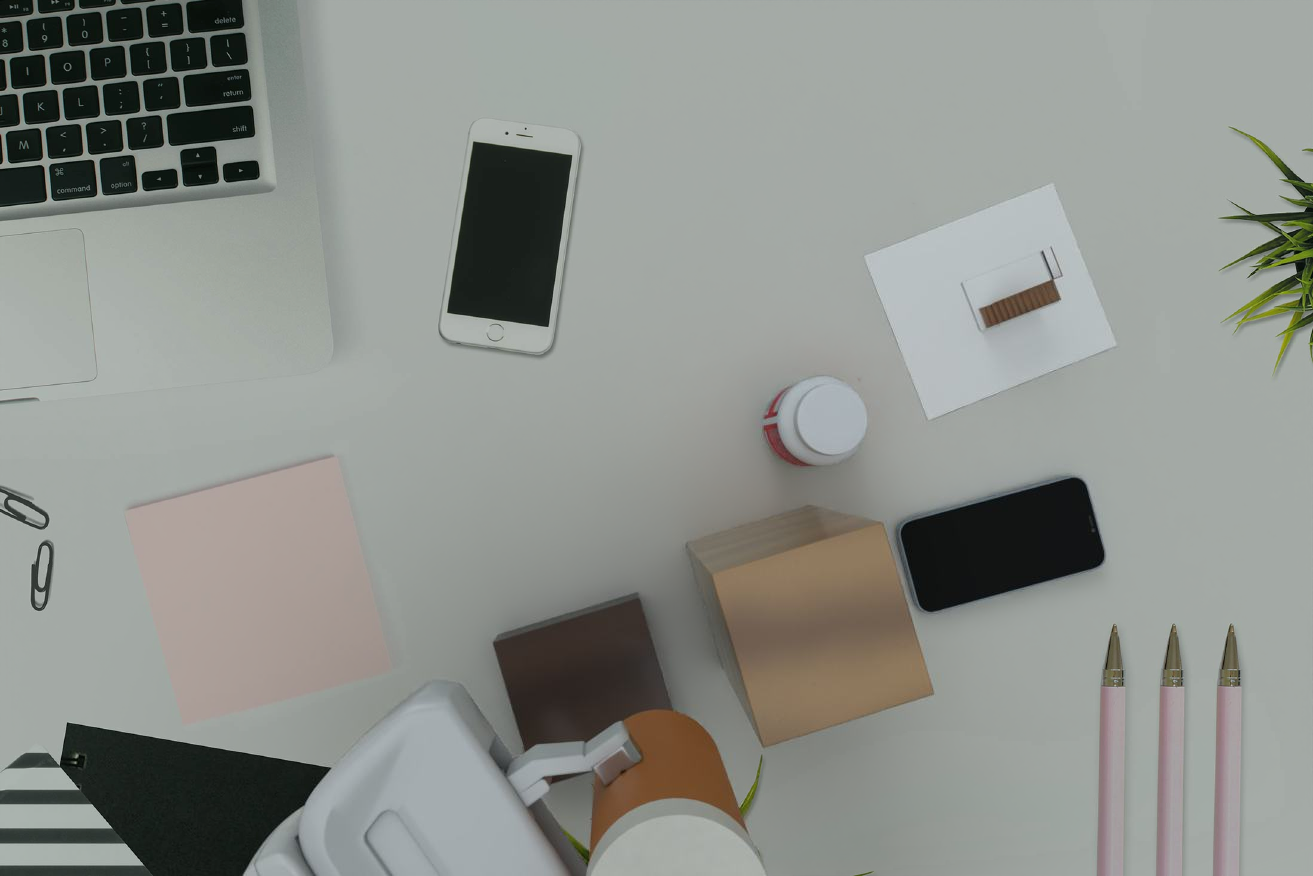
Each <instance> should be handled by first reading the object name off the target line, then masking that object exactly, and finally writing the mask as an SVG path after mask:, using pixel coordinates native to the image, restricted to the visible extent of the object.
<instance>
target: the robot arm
mask: <svg viewBox="0 0 1313 876" xmlns="http://www.w3.org/2000/svg"><path fill="white" fill-rule="evenodd" d="M641 753H642V750H641V748H640V747H639V745H638V744H637V742H636V741H635V739H634V738H633V736H632V735H631V733H630V732H629V731H628V729H627V727H626V726H625V725H624V723H623V722H622V721H619V722H616V723H614V724H613V725H611V726H610V727H609V728H607V729H606V730H604V731H603V732H601V733H600V734H598V735H597V736H596V737H594V738H593V739H591V740H590V741H588V742H587V743H585V742H584V741H577V742H564V743H550V744H537V745H535V746H533V747H532V748H531V749H529V750H528V751H526V752H525V751H524V753H522V754H521V755H519V756H517V757H516V758H514V757H513V755H512V754H511V753H510V751H509V749H508V748H507V747H506V745H505V744H504V742H503V741H502V740H501V738H500V736H499V735H498V733H497V732H496V731H495V729H494V728H493V726H492V725H491V723H490V722H489V720H488V719H487V718H486V716H485V715H484V713H483V711H482V710H481V709H480V708H479V706H478V705H477V703H476V702H475V700H474V699H473V697H472V696H471V694H470V693H469V691H468V690H467V689H466V687H465V686H464V685H463V684H462V683H461V682H460V681H458V680H457V681H456V680H448V679H447V680H446V679H432V680H431V679H430V680H428V681H427V682H425V683H424V684H423V685H421V686H419V687H418V688H417V689H416V690H414V691H413V692H411V693H410V694H409V695H408V696H406V697H405V698H404V699H403V700H402V701H400V702H399V703H398V704H396V705H395V706H394V707H393V708H391V710H389V711H388V712H387V713H385V715H384V716H383V717H382V718H380V719H379V720H378V721H377V722H376V723H374V724H373V726H371V727H370V728H369V729H368V730H367V731H366V732H365V734H363V735H362V736H361V737H360V738H359V739H358V740H357V741H356V742H355V743H354V744H353V745H352V746H351V747H350V748H348V750H347V751H346V752H345V753H344V754H343V755H342V756H341V757H340V758H339V759H338V760H337V762H335V764H334V765H333V766H332V767H331V768H330V769H329V771H328V772H327V773H326V774H325V775H324V776H323V777H322V779H321V780H320V781H319V782H318V784H317V785H316V787H315V788H314V789H313V791H312V792H311V793H310V795H309V796H308V798H307V799H306V801H305V803H304V805H303V806H301V807H299V808H298V809H297V810H295V811H294V812H293V813H291V814H290V815H289V816H287V817H286V818H285V819H284V820H283V821H282V822H281V823H280V824H278V825H277V827H275V829H274V830H273V831H272V832H271V833H269V835H268V836H267V838H265V840H264V841H263V842H262V844H261V845H260V846H259V848H258V849H257V851H256V852H255V853H254V855H253V857H252V858H251V860H250V862H249V864H248V865H247V867H246V869H245V870H244V872H243V874H242V876H586V872H587V868H588V864H587V863H586V861H585V860H584V858H583V857H582V855H581V854H580V853H579V851H578V850H577V849H576V846H575V845H574V844H573V843H572V841H571V839H569V837H568V834H566V832H565V831H564V829H563V828H562V827H561V825H560V823H559V822H558V821H557V819H556V818H555V816H554V815H553V814H552V812H551V811H550V809H549V808H548V806H547V804H546V803H545V801H544V800H543V799H542V797H544V796H545V795H546V794H549V792H550V789H551V785H552V784H551V780H552V776H554V775H563V774H571V773H579V772H588V771H592V772H595V773H596V774H597V775H598V777H599V778H600V780H601V781H602V782H603V784H604V785H605V787H606V786H608V785H609V784H610V783H612V782H613V781H615V780H616V779H617V778H618V777H619V776H620V775H621V772H622V771H627V770H629V769H631V768H633V767H634V766H636V765H637V764H638V763H639V762H640V761H641V759H642V754H641ZM593 770H594V771H593Z"/></svg>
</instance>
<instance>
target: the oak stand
mask: <svg viewBox="0 0 1313 876" xmlns="http://www.w3.org/2000/svg"><path fill="white" fill-rule="evenodd" d="M685 547H686V551H687V553H688V557H689V560H690V563H691V566H692V569H693V573H694V576H695V580H696V583H697V586H698V590H699V593H700V596H701V599H702V603H703V607H704V609H705V612H706V613H705V614H706V617H707V620H708V623H709V626H710V627H709V628H710V630H711V633H712V636H713V640H714V643H715V647H716V650H717V653H718V657H719V660H720V663H721V667H722V669H723V672H724V674H725V676H726V677H727V679H728V681H729V684H730V685H731V688H732V690H733V691H734V693H735V695H736V697H737V700H738V701H739V704H740V706H741V708H742V709H743V711H744V713H745V715H746V718H747V719H748V721H749V723H750V725H751V727H752V729H753V731H754V733H755V735H756V737H757V739H758V741H759V743H760V745H761V747H762V748H763V749H765V748H769V747H772V746H775V745H778V744H779V745H780V744H782V743H784V742H788V741H790V740H794V739H796V738H800V737H803V736H806V735H810V734H813V733H817V732H819V731H823V730H826V729H829V728H832V727H835V726H838V725H842V724H846V723H847V722H851V721H854V720H858V719H861V718H864V717H867V716H870V715H873V714H877V713H880V712H882V711H886V710H889V709H890V710H891V709H892V708H896V707H899V706H902V705H905V704H909V703H912V702H915V701H918V700H921V699H924V698H928V697H931V696H934V695H935V691H934V687H933V684H932V681H931V677H930V675H929V674H930V673H929V671H928V667H927V664H926V661H925V657H924V654H923V651H922V647H921V644H920V641H919V638H918V634H917V631H916V628H915V624H914V620H913V618H912V614H911V611H910V608H909V605H908V602H907V601H908V600H907V598H906V594H905V591H904V588H903V585H902V581H901V578H900V574H899V571H898V568H897V565H896V562H895V561H896V560H895V558H894V555H893V551H892V548H891V544H890V542H889V539H888V535H887V532H886V528H885V524H884V522H883V521H880V520H876V519H872V518H867V517H863V516H859V515H854V514H850V513H846V512H841V511H837V510H834V509H828V508H824V507H821V506H816V505H812V504H809V505H805V506H803V507H799V508H795V509H793V510H790V511H785V512H783V513H779V514H775V515H772V516H769V517H767V518H763V519H759V520H755V521H753V522H749V523H746V524H743V525H740V526H737V527H733V528H730V529H726V530H723V531H719V532H716V533H714V534H709V535H707V536H704V537H703V536H702V537H700V538H697V539H694V540H691V541H687V542H686V543H685Z"/></svg>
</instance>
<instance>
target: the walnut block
mask: <svg viewBox="0 0 1313 876" xmlns="http://www.w3.org/2000/svg"><path fill="white" fill-rule="evenodd" d="M643 607H644V606H643V604H642V601H641V597H640V594H639V592H633V593H630V594H627V595H624V596H623V595H622V596H620V597H617V598H614V599H610V600H608V601H607V600H606V601H604V602H601V603H597V604H594V605H591V606H588V607H584V608H581V609H578V610H574V611H571V612H568V613H564V614H561V615H558V616H555V617H551V618H548V619H544V620H542V621H539V622H538V621H537V622H535V623H532V624H529V625H525V626H521V627H519V628H515V629H512V630H508V631H506V632H502V633H499V634H497V635H496V637H495V639H494V640H493V641H492V646H493V648H494V652H495V656H496V659H497V662H498V667H499V669H500V673H501V675H502V679H503V682H504V687H505V690H506V693H507V696H508V699H509V700H508V701H509V703H510V707H511V709H512V714H513V717H514V720H515V723H516V727H517V731H518V733H519V737H520V740H521V744H522V747H523V750H524V753H525V752H526V751H528V750H529V749H531V748H532V747H533V746H535V745H537V744H550V743H564V742H577V741H584V742H585V743H587V742H588V741H590V740H591V739H593V738H594V737H596V736H597V735H598V734H600V733H601V732H603V731H604V730H606V729H607V728H609V727H610V726H611V725H613V724H614V723H616V722H619V721H624V720H625V719H627V718H629V717H631V716H632V715H635V714H638V713H640V712H644V711H648V710H657V709H658V710H670V711H674V708H673V705H672V701H671V699H670V694H669V690H668V688H667V685H666V680H665V678H664V675H663V670H662V667H661V664H660V661H659V658H658V654H657V652H656V648H655V644H654V640H653V638H652V635H651V631H650V628H649V624H648V621H647V618H646V613H645V610H644V608H643ZM592 772H595V771H594V770H593V771H588V772H579V773H571V774H563V775H554V776H552V780H551V785H554V784H558V783H560V782H563V781H566V780H569V779H573V778H577V777H579V776H582V775H586V774H589V773H592Z"/></svg>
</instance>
